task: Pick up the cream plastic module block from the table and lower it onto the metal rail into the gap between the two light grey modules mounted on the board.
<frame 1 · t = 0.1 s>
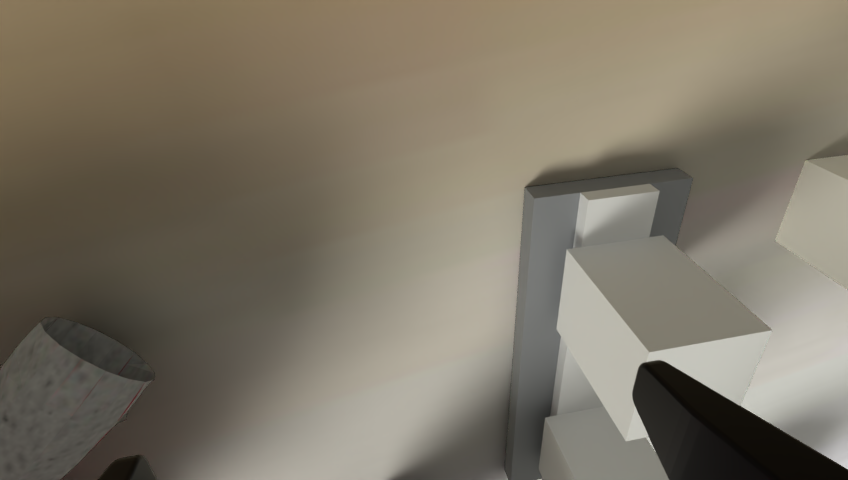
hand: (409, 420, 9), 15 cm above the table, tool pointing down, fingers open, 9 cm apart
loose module: (828, 196, 29), on the table
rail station: (576, 344, 31), on the table
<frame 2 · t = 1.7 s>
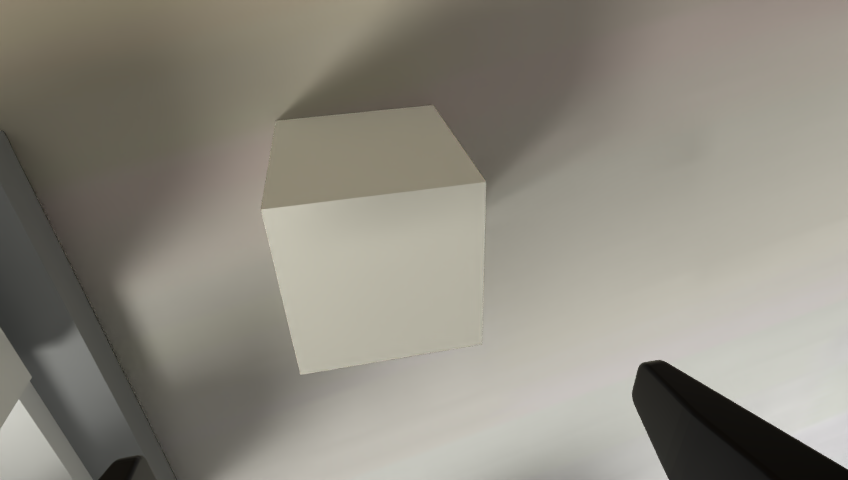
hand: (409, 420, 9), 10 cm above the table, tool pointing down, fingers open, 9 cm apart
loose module: (364, 183, 18), on the table
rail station: (25, 413, 20), on the table
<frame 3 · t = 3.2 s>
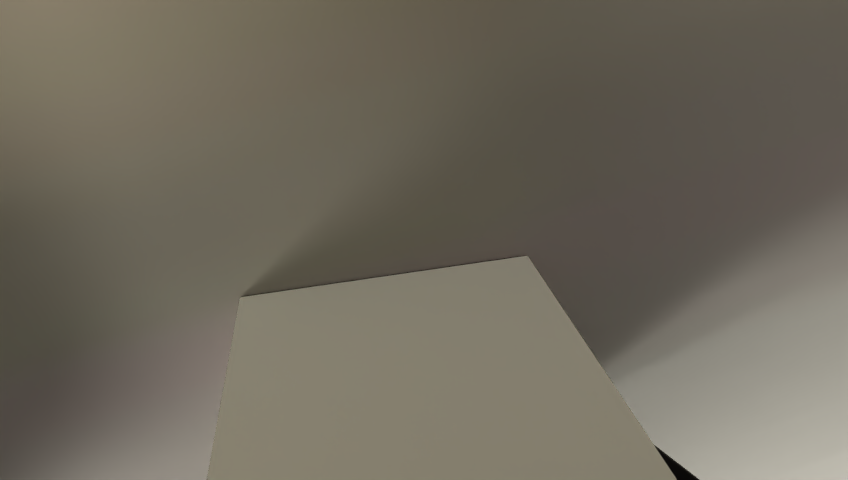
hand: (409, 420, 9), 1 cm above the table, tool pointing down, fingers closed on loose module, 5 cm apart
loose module: (398, 377, 10), on the table, touching gripper
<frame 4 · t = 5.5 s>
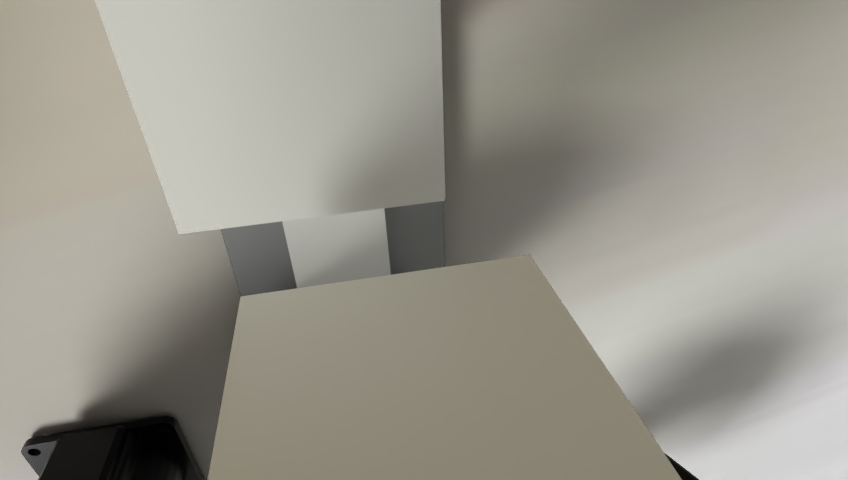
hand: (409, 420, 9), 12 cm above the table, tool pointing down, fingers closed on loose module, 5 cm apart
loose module: (400, 377, 10), point 11 cm above the table, touching gripper
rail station: (330, 179, 19), on the table
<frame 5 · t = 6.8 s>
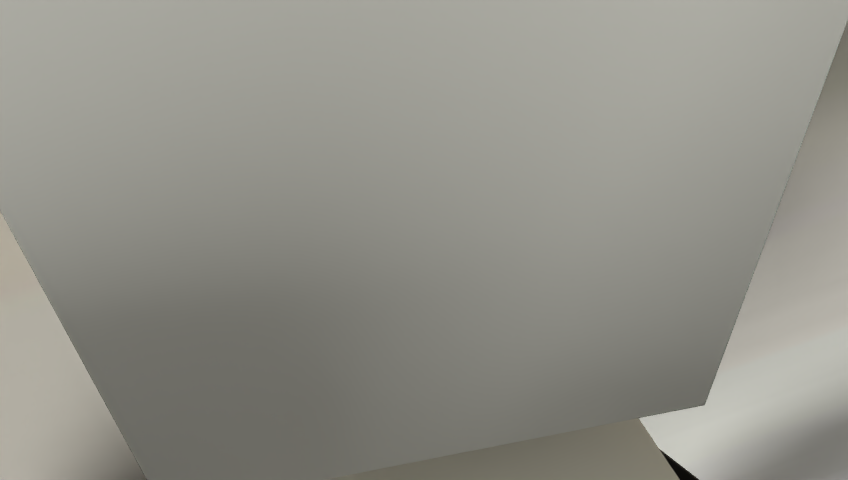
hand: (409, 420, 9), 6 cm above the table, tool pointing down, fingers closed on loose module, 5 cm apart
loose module: (399, 378, 10), point 5 cm above the table, touching gripper
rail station: (377, 249, 14), on the table
when the fingers open (4 cm above the table, at t = 7.9 s): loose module drops 1 cm, resting on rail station.
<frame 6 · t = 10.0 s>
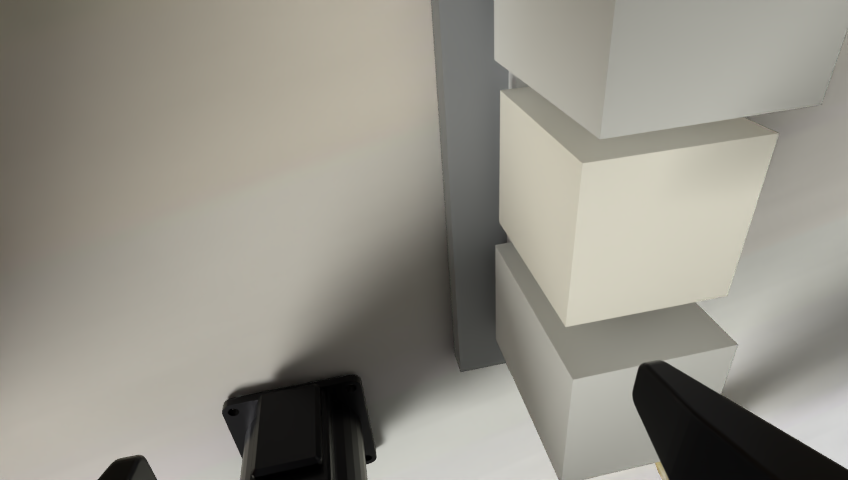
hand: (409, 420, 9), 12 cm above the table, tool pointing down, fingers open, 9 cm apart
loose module: (566, 151, 18), point 2 cm above the table, touching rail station
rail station: (541, 132, 20), on the table
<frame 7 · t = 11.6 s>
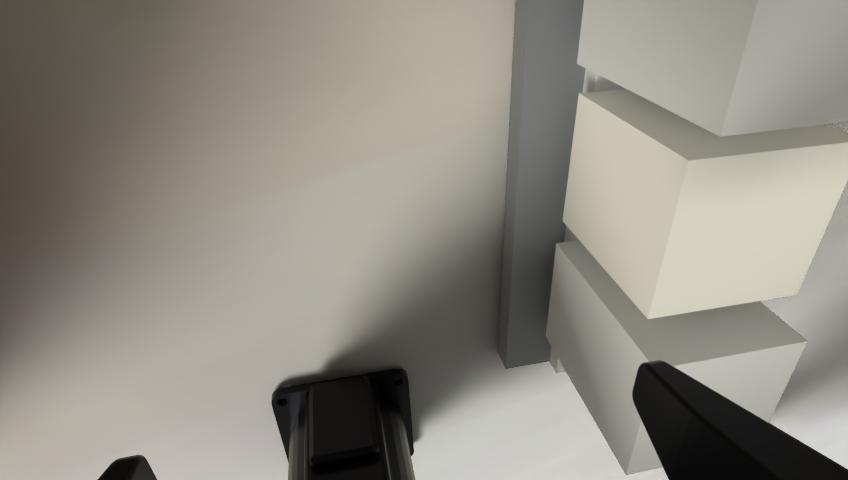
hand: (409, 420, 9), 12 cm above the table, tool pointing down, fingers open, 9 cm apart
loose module: (633, 154, 19), point 2 cm above the table, touching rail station
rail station: (602, 136, 21), on the table
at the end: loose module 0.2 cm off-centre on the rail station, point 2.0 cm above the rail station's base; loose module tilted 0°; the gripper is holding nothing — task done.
